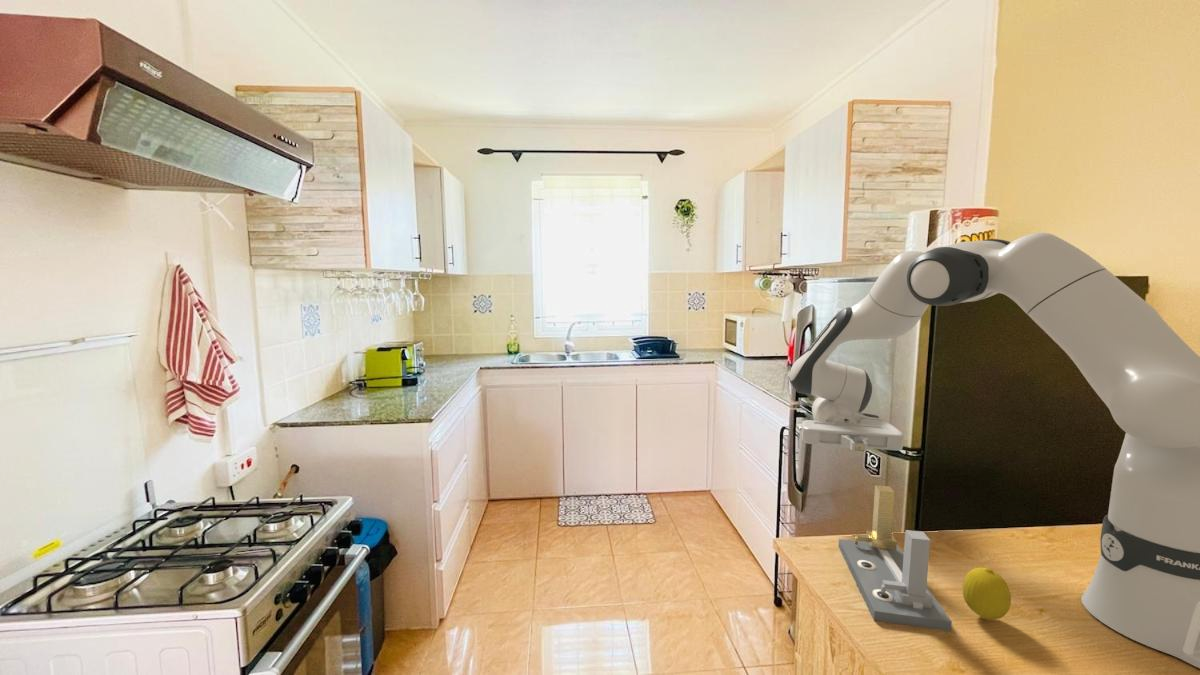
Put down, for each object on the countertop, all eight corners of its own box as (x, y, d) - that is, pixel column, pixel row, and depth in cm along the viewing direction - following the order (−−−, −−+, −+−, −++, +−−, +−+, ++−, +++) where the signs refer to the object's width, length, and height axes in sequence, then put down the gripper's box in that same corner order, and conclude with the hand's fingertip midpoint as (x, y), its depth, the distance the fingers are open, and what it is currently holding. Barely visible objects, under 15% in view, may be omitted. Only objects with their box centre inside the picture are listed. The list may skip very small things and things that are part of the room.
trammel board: (897, 552, 87) (901, 491, 85) (950, 631, 67) (957, 552, 66) (838, 546, 89) (841, 485, 87) (873, 620, 70) (879, 544, 68)
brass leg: (890, 543, 86) (894, 486, 85) (896, 552, 83) (900, 493, 82) (851, 539, 88) (855, 482, 86) (856, 547, 85) (860, 490, 83)
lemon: (1017, 634, 66) (1023, 582, 66) (973, 629, 68) (978, 577, 67) (993, 608, 72) (998, 559, 71) (952, 603, 73) (957, 555, 72)
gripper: (795, 410, 113) (807, 429, 99) (890, 416, 108) (915, 436, 95) (794, 436, 114) (805, 457, 100) (888, 443, 109) (912, 466, 96)
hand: (859, 447), depth 97 cm, fingers closed
